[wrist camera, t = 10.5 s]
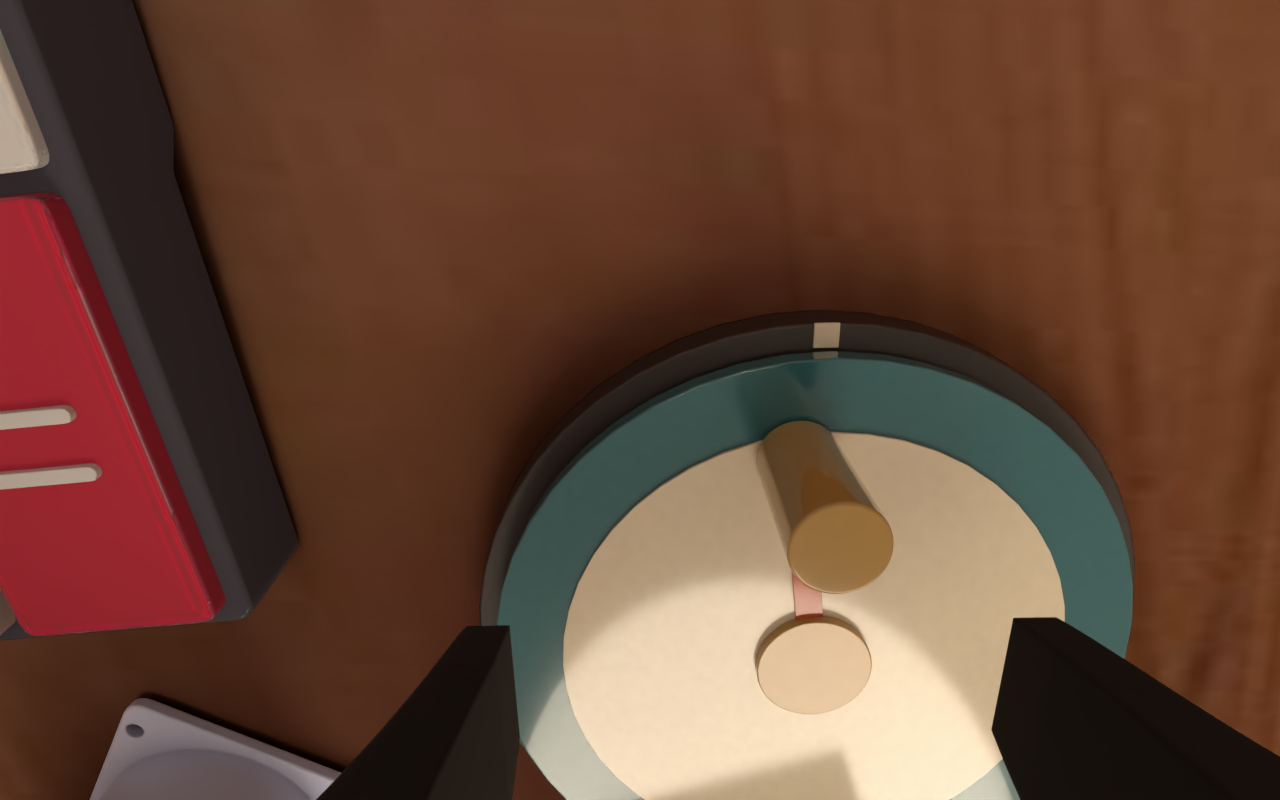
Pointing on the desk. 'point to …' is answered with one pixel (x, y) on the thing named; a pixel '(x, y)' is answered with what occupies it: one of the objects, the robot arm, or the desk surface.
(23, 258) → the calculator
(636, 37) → the desk surface
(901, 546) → the turntable with peg
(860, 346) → the stand
